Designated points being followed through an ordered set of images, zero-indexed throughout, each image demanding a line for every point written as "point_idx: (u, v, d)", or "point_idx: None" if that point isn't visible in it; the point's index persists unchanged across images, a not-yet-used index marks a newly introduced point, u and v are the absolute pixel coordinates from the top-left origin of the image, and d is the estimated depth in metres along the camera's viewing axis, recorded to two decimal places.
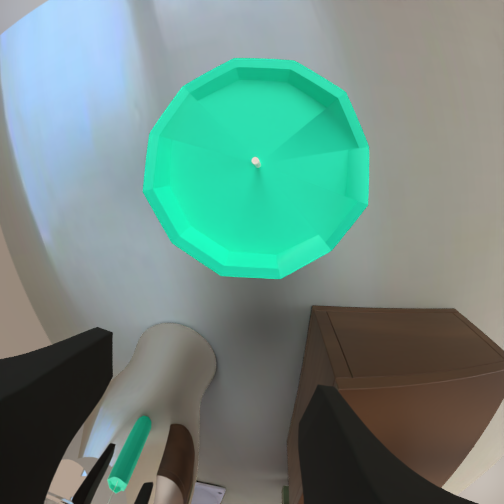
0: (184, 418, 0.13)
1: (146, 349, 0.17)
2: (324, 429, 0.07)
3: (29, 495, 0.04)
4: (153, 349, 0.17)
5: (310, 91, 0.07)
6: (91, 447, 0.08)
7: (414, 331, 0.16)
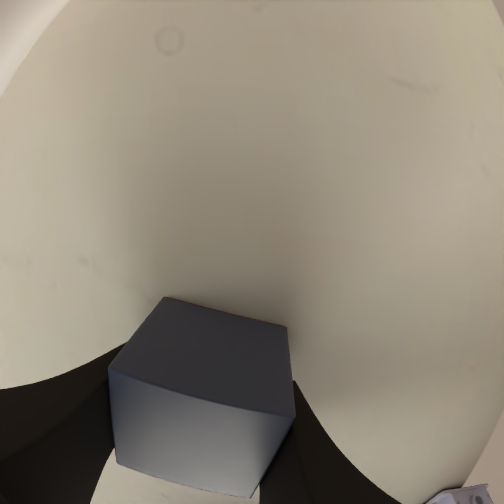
0: None
1: None
2: None
3: None
4: None
5: None
6: None
7: None
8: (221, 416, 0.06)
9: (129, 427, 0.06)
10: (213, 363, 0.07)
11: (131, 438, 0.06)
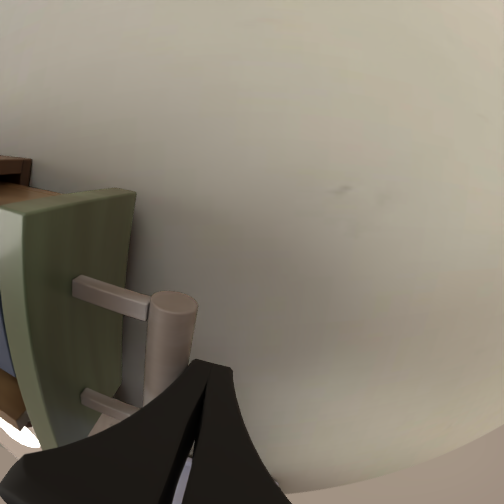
0: None
1: None
2: (202, 408, 0.07)
3: None
4: None
5: None
6: None
7: None
8: (0, 342, 0.08)
9: None
10: None
11: None
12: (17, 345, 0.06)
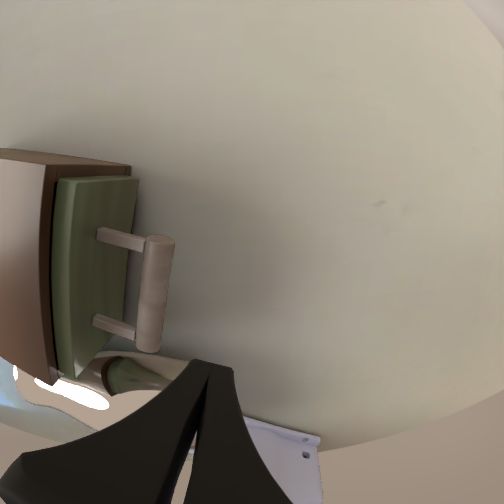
0: (102, 351, 0.19)
1: None
2: (203, 409, 0.07)
3: None
4: None
5: None
6: (137, 388, 0.16)
7: None
8: None
9: None
10: None
11: None
12: (58, 266, 0.12)
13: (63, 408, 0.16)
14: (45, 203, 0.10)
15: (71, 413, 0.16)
